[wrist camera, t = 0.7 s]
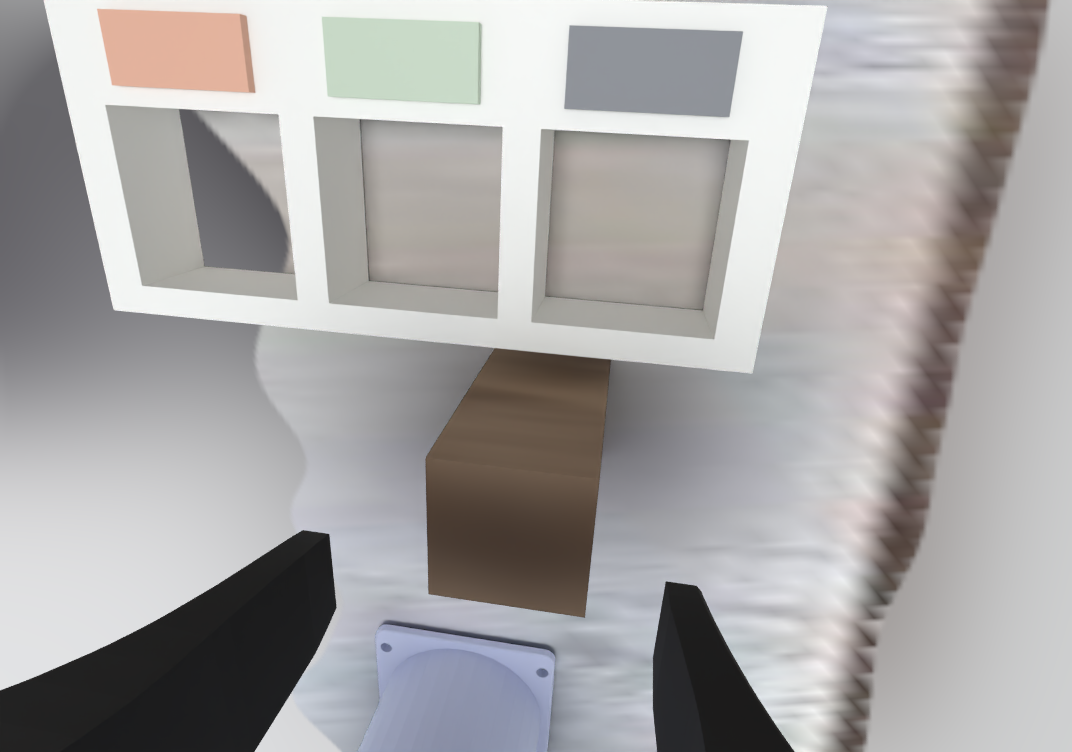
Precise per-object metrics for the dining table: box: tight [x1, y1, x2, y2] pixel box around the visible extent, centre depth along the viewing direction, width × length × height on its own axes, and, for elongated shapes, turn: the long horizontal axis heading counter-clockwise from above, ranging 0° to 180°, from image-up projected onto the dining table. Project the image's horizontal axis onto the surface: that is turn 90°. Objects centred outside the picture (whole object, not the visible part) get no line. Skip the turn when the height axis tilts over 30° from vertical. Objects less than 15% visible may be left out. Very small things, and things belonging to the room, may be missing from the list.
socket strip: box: [44, 0, 828, 374], centre depth 18 cm, size 9×20×3 cm, turn 87°
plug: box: [426, 348, 611, 617], centre depth 18 cm, size 4×4×8 cm
